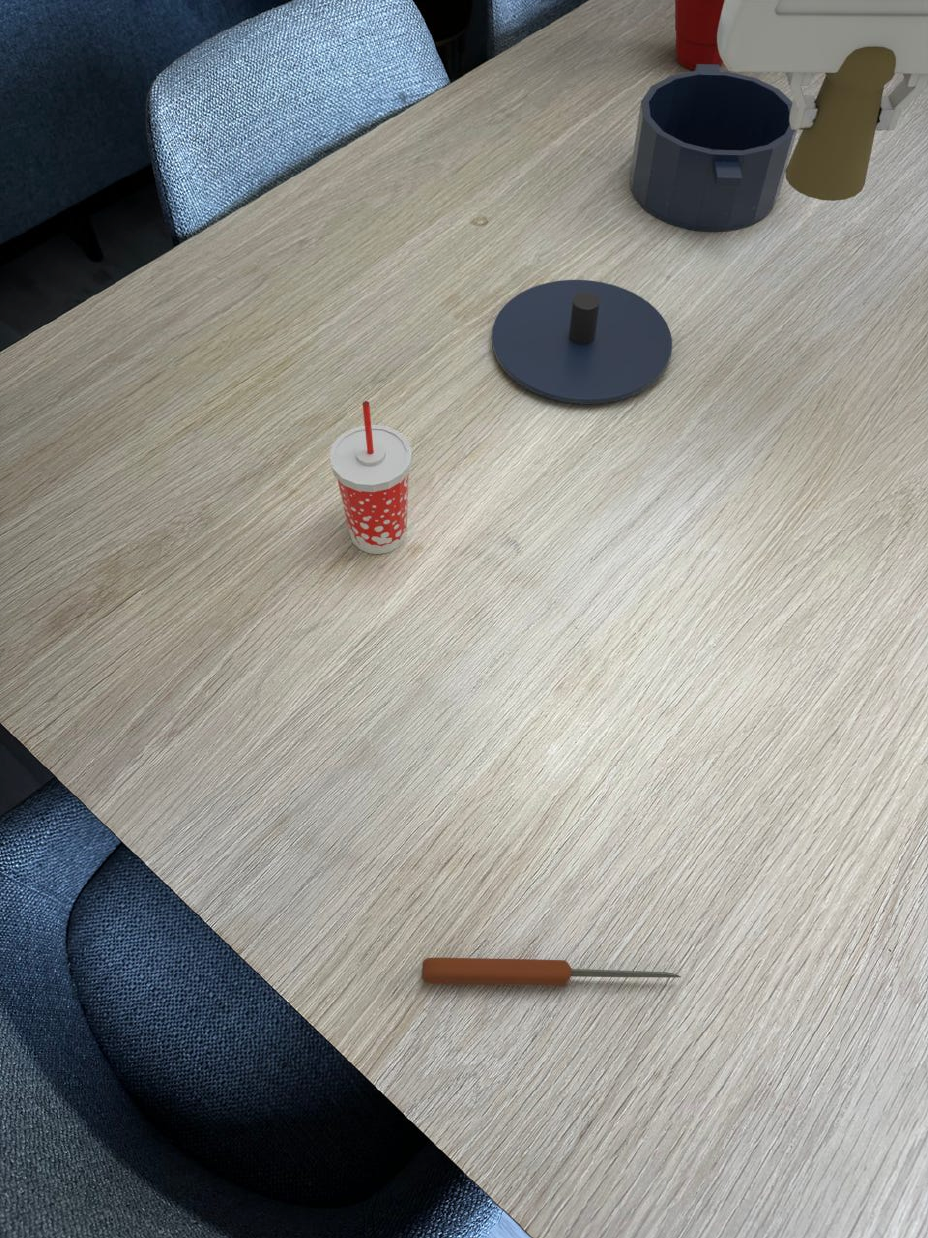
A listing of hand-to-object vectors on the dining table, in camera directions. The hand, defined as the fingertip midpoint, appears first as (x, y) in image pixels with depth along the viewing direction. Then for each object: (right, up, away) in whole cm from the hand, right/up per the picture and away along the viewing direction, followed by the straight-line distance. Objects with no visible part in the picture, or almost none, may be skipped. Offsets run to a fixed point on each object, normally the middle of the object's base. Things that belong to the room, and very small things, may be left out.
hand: (840, 125), depth 77 cm
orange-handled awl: (-23, -59, -13) cm, 64 cm away
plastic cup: (+1, +32, +50) cm, 59 cm away
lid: (-17, -11, +19) cm, 28 cm away
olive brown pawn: (0, -2, +4) cm, 4 cm away
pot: (-2, +10, +35) cm, 36 cm away
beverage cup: (-35, -29, +7) cm, 46 cm away
